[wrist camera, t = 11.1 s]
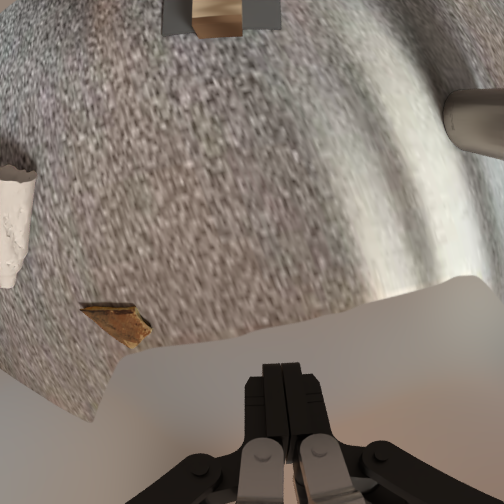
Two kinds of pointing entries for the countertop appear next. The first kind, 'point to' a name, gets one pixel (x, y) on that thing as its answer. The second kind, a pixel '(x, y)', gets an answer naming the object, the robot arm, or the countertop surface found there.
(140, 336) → the shard
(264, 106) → the countertop surface
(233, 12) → the maple block
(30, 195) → the hollow grey tube
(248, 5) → the mat
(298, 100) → the countertop surface
